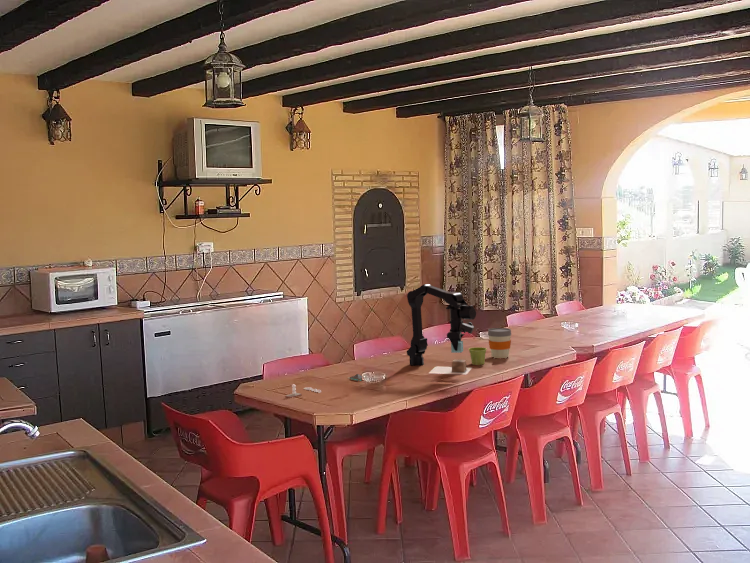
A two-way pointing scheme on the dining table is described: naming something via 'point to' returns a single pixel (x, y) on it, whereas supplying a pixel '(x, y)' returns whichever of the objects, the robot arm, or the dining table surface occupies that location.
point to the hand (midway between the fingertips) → (457, 349)
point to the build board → (448, 370)
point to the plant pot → (477, 355)
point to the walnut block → (458, 365)
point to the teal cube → (460, 348)
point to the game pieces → (294, 394)
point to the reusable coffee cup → (499, 342)
